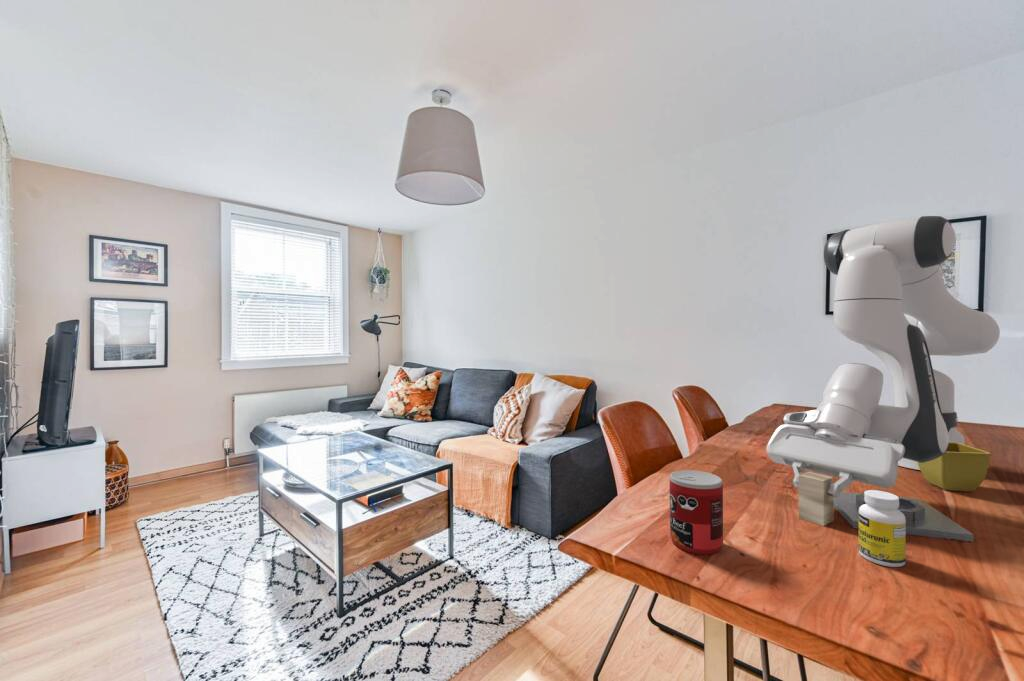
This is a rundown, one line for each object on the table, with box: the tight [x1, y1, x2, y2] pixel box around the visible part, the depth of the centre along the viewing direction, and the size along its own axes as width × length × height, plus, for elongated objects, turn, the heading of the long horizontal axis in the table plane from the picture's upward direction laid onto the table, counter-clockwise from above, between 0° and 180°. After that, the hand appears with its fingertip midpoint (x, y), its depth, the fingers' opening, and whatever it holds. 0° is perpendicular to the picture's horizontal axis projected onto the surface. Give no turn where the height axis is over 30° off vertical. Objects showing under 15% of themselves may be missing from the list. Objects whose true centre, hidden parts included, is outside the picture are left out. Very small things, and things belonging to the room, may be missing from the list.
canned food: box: [669, 469, 724, 555], centre depth 70 cm, size 8×8×11 cm
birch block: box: [798, 470, 835, 527], centre depth 79 cm, size 4×4×8 cm
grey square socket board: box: [834, 491, 975, 543], centre depth 80 cm, size 16×16×3 cm
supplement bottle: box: [858, 489, 907, 568], centre depth 65 cm, size 5×5×10 cm
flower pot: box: [918, 442, 992, 492], centre depth 94 cm, size 9×9×9 cm
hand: (814, 490), depth 79 cm, fingers closed on birch block, 4 cm apart
